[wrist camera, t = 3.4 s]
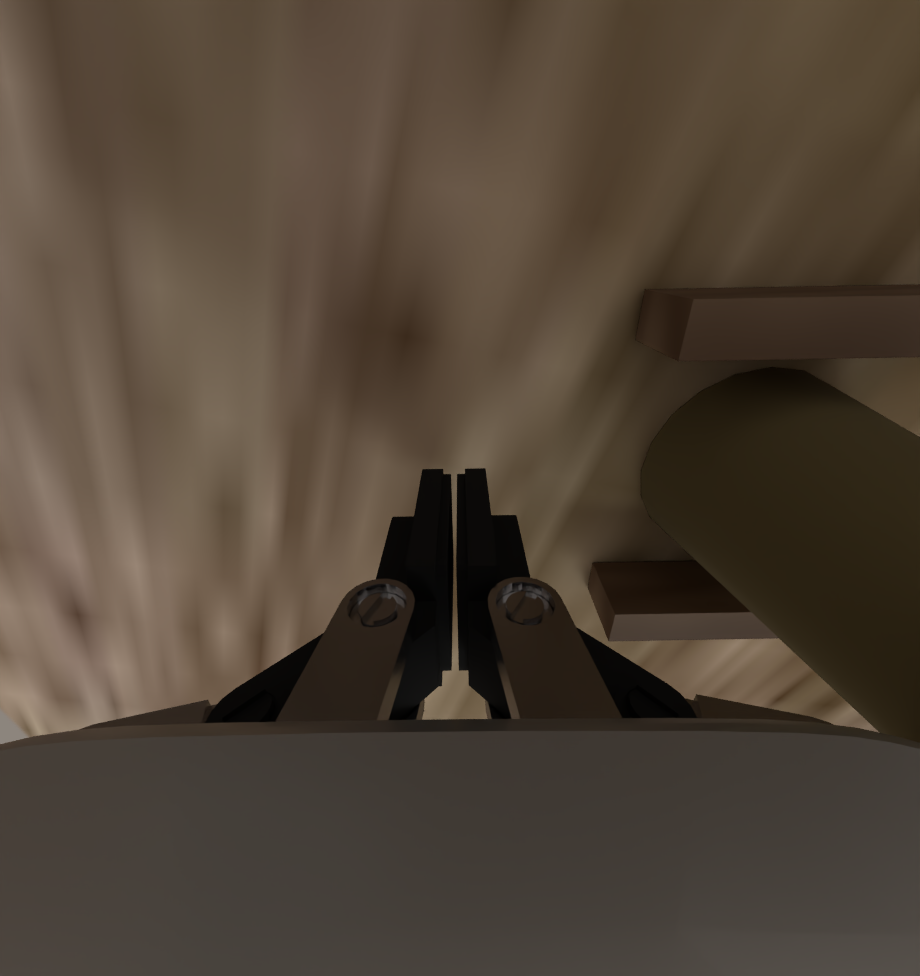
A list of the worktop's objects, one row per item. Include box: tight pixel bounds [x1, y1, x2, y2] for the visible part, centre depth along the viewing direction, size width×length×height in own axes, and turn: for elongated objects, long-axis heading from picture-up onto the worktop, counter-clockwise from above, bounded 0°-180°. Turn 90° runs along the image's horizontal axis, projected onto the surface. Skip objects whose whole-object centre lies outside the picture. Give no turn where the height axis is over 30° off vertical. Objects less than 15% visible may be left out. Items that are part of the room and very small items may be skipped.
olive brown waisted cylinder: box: [641, 367, 920, 743], centre depth 8 cm, size 6×6×11 cm
